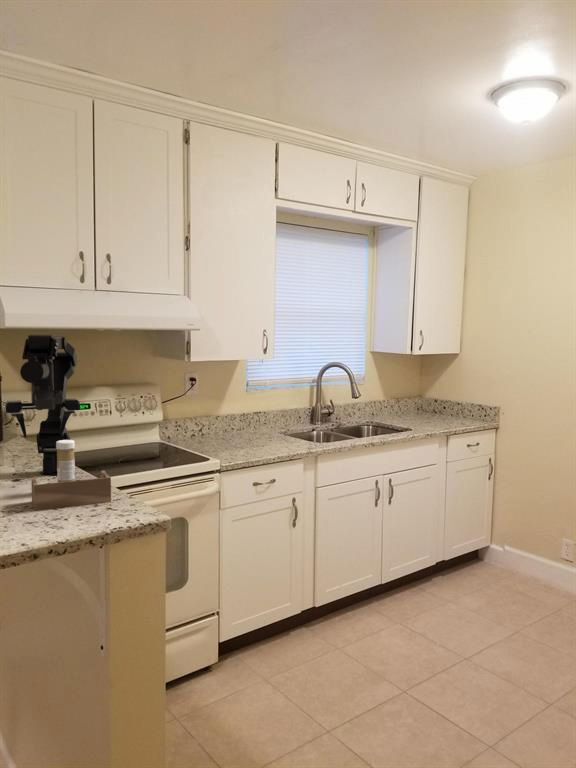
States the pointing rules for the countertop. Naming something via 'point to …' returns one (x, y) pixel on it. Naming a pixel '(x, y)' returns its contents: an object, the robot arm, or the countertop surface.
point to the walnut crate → (71, 492)
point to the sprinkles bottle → (65, 460)
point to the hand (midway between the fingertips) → (43, 436)
